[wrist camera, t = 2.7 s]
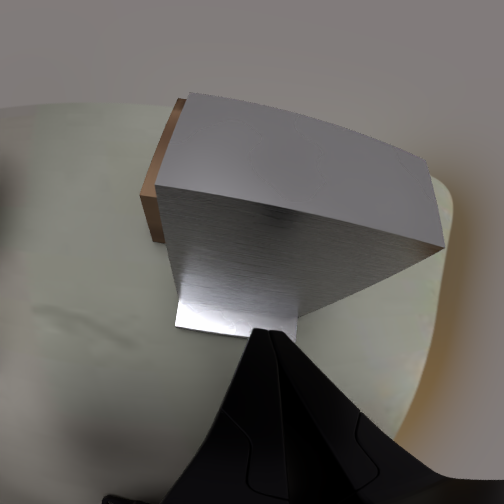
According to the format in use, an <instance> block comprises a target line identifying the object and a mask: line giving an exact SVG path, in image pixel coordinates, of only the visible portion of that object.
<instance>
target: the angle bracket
mask: <svg viewBox="0 0 504 504" xmlns="http://www.w3.org/2000/svg"><path fill="white" fill-rule="evenodd" d="M154 185H155V191H156V196H157V202H158V207H159V213H160V218H161V223H162V228H163V233H164V238H165V242H166V247H167V251H168V256H169V260H170V265H171V269H172V273H173V277H174V282H175V286H176V290H177V294H178V298H179V305H178V311H177V318H176V324H175V326H176V328H181V329H187V330H193V331H199V332H205V333H212V334H218V335H225V336H232V337H240V338H248V339H249V337H250V334H251V332H252V329H253V328H262V329H267V330H279V331H283V332H284V333H285V334H286V335H287V336H288V337H289V338H290V339H291V340H292V341H293V342H296V331H297V318H299V317H301V316H304V315H306V314H308V313H311V312H313V311H316V310H318V309H320V308H323V307H325V306H327V305H330V304H332V303H334V302H337V301H339V300H341V299H343V298H346V297H348V296H350V295H352V294H354V293H357V292H359V291H361V290H363V289H365V288H367V287H370V286H372V285H374V284H376V283H378V282H380V281H382V280H384V279H386V278H388V277H390V276H392V275H394V274H397V273H399V272H401V271H403V270H404V269H406V268H408V267H410V266H412V265H414V264H416V263H418V262H420V261H422V260H424V259H426V258H428V257H430V256H431V255H433V254H435V253H437V252H439V251H441V250H442V249H444V248H445V243H444V237H443V231H442V226H441V221H440V216H439V211H438V206H437V202H436V197H435V193H434V189H433V185H432V181H431V177H430V174H429V170H428V167H427V163H426V160H424V159H422V158H420V157H418V156H415V155H413V154H411V153H409V152H407V151H404V150H402V149H400V148H397V147H395V146H392V145H390V144H387V143H385V142H382V141H379V140H377V139H374V138H372V137H369V136H367V135H364V134H361V133H358V132H356V131H352V130H350V129H347V128H343V127H341V126H338V125H335V124H331V123H328V122H325V121H322V120H319V119H315V118H312V117H308V116H305V115H301V114H297V113H293V112H289V111H286V110H281V109H278V108H274V107H269V106H265V105H260V104H256V103H251V102H246V101H241V100H236V99H230V98H224V97H219V96H212V95H206V94H199V93H191V92H190V93H189V96H188V98H187V100H186V102H185V105H184V107H183V109H182V112H181V114H180V116H179V119H178V121H177V124H176V126H175V129H174V131H173V134H172V137H171V139H170V142H169V144H168V147H167V150H166V153H165V155H164V158H163V161H162V164H161V167H160V169H159V172H158V175H157V178H156V181H155V184H154Z"/></svg>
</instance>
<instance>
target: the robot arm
mask: <svg viewBox="0 0 504 504" xmlns="http://www.w3.org/2000/svg"><path fill="white" fill-rule="evenodd" d="M108 501H110V502H112V503H113V504H149V503H144V502H140V501H136V502H134V501H130V500H126V499H122V498H118V497H115V496H111V495H107V496H105V497H104V498H103V499H102V504H109V503H108ZM159 504H504V480H470V479H456V478H449V477H446V476H443V475H440V474H438V473H436V472H434V471H433V470H431V469H430V468H428V467H427V466H426V465H424V464H423V463H422V462H420V461H419V460H418V459H416V458H415V457H414V456H412V455H411V454H410V453H408V452H407V451H405V450H404V449H403V448H402V447H401V446H399V445H398V444H397V443H395V442H394V441H393V440H392V439H391V438H389V437H388V436H387V435H386V434H385V433H384V432H382V431H381V430H380V429H379V428H378V427H377V426H376V425H375V424H374V423H373V422H372V421H371V420H370V419H369V418H368V417H367V416H365V415H364V414H363V413H362V412H360V410H359V409H358V408H357V407H356V406H355V405H354V404H353V403H352V402H351V401H350V400H349V399H348V398H347V397H346V396H345V395H344V394H343V393H342V392H341V391H340V390H339V389H338V388H337V387H336V386H335V385H334V384H333V383H332V382H331V380H330V379H329V378H328V377H327V376H326V375H325V374H324V373H323V372H322V371H321V370H320V369H319V368H318V367H317V366H316V365H315V364H314V363H313V362H312V361H311V360H310V359H309V358H308V357H307V356H306V355H305V354H304V353H303V352H302V350H301V349H300V348H299V347H298V346H297V345H296V344H295V343H294V342H293V341H292V340H291V339H290V338H289V337H288V336H287V335H286V334H285V333H284V332H283V331H279V330H267V329H262V328H253V329H252V332H251V334H250V337H249V339H248V342H247V344H246V346H245V349H244V351H243V354H242V356H241V359H240V361H239V363H238V366H237V368H236V371H235V373H234V375H233V378H232V380H231V383H230V385H229V387H228V390H227V392H226V394H225V397H224V399H223V401H222V404H221V406H220V408H219V411H218V413H217V415H216V417H215V419H214V422H213V424H212V426H211V428H210V430H209V432H208V434H207V436H206V438H205V440H204V442H203V443H202V445H201V446H200V448H199V449H198V451H197V453H196V454H195V456H194V457H193V459H192V460H191V462H190V463H189V464H188V466H187V467H186V469H185V470H184V471H183V473H182V474H181V476H180V477H179V478H178V480H177V481H176V482H175V484H174V485H173V487H172V488H171V489H170V491H169V492H168V493H167V495H166V496H165V497H164V498H163V500H162V501H161V502H160V503H159Z"/></svg>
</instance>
